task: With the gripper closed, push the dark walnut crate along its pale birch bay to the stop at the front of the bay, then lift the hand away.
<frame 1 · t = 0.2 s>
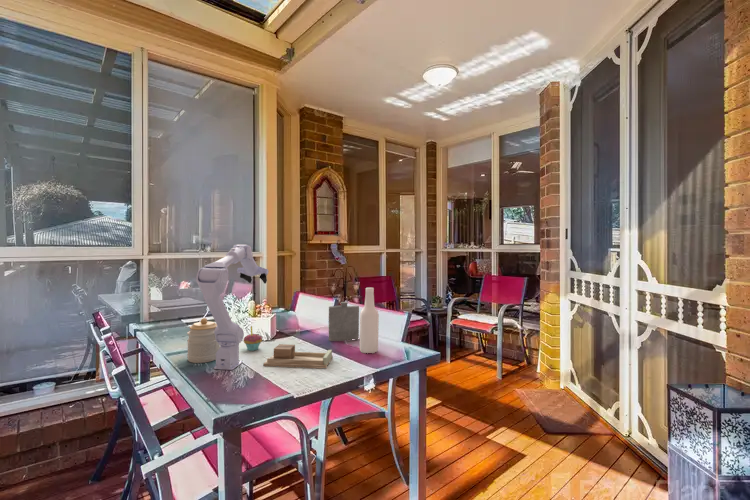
hand: (258, 281, 178), 32 cm above the table, tool tilted 50°, fingers open, 7 cm apart
hip flask: (343, 340, 193), on the table
bay: (299, 361, 157), on the table
alcohol: (368, 351, 174), on the table
cupcake: (252, 349, 174), on the table
jar: (203, 359, 160), on the table
crate: (284, 352, 158), point 4 cm above the table, slide at 0.0 cm
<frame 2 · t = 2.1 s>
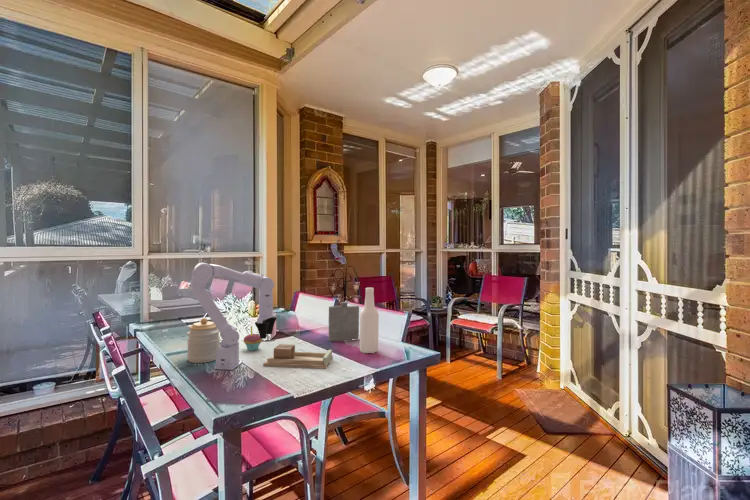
hand: (266, 336, 158), 10 cm above the table, tool pointing down, fingers open, 6 cm apart
nothing on the table moved.
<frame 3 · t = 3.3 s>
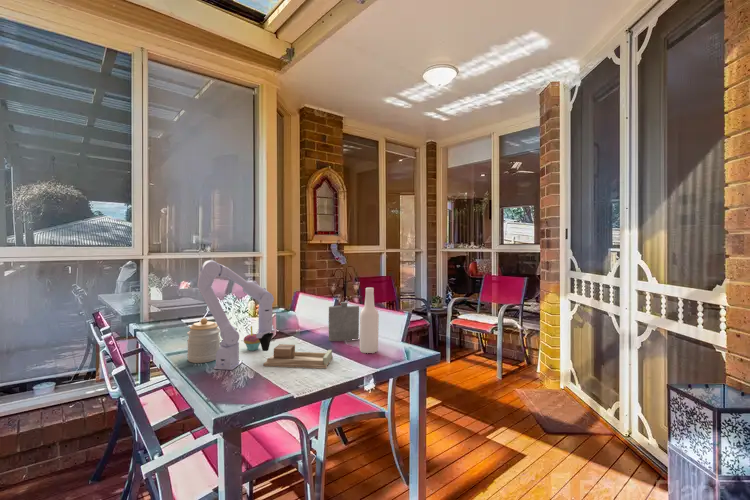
hand: (265, 350, 158), 4 cm above the table, tool pointing down, fingers closed
nothing on the table moved.
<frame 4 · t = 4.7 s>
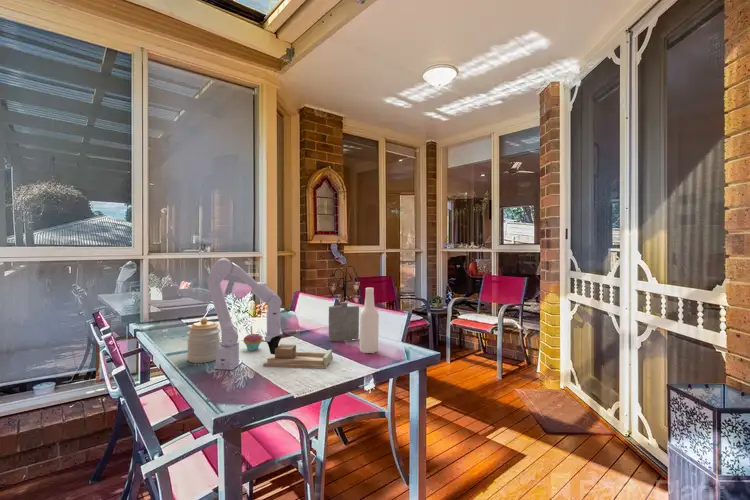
hand: (273, 353, 158), 3 cm above the table, tool pointing down, fingers closed, pressing on crate
crate: (285, 352, 158), point 4 cm above the table, slide at 0.5 cm, touching gripper
everything else where it was.
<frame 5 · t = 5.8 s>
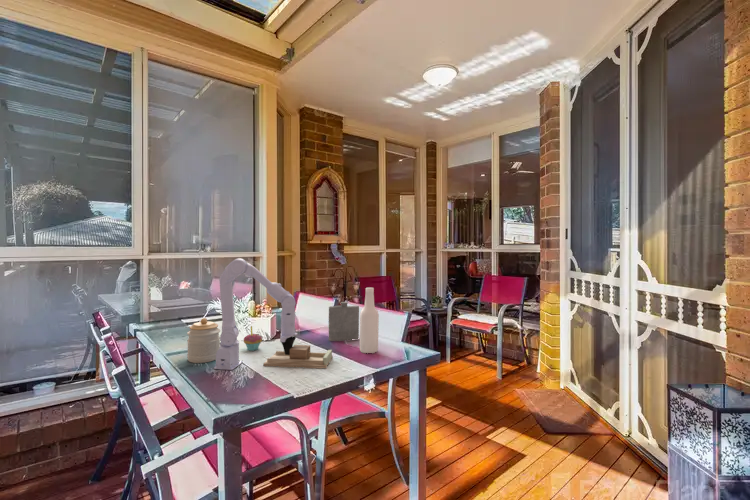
hand: (287, 354, 158), 3 cm above the table, tool pointing down, fingers closed, pressing on crate
crate: (300, 353, 157), point 4 cm above the table, slide at 6.9 cm, touching gripper
everything else where it was.
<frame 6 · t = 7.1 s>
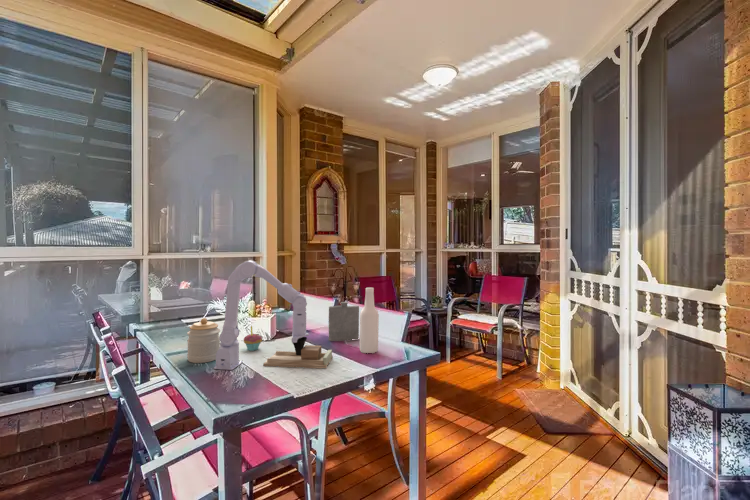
hand: (299, 354, 157), 3 cm above the table, tool pointing down, fingers closed, pressing on crate
crate: (311, 353, 157), point 4 cm above the table, slide at 11.8 cm, touching gripper
everything else where it was.
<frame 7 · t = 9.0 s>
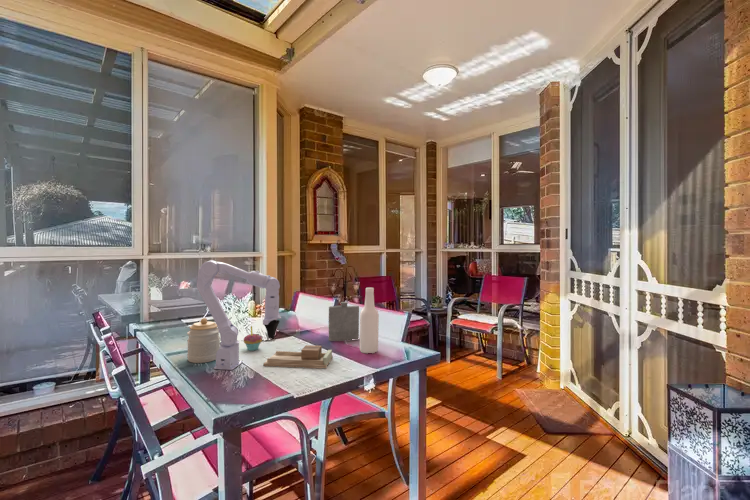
hand: (271, 338, 156), 10 cm above the table, tool pointing down, fingers closed
crate: (311, 353, 157), point 4 cm above the table, slide at 11.9 cm
everything else where it was.
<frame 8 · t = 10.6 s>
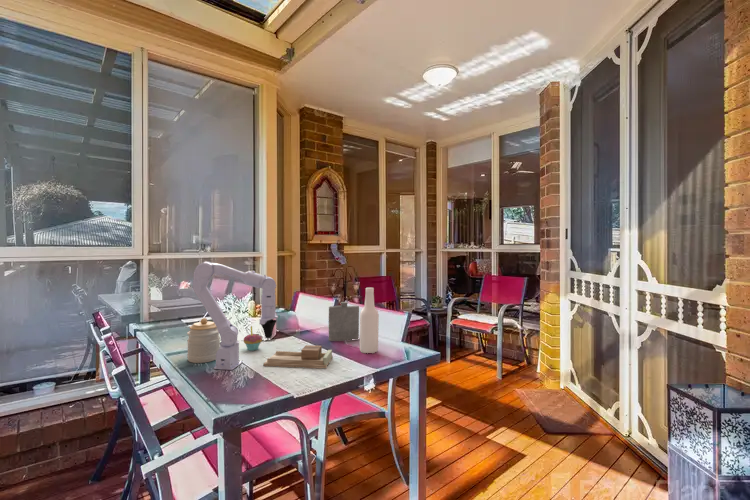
hand: (268, 337, 156), 10 cm above the table, tool pointing down, fingers closed
nothing on the table moved.
at the end: crate slide at 11.9 cm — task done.
